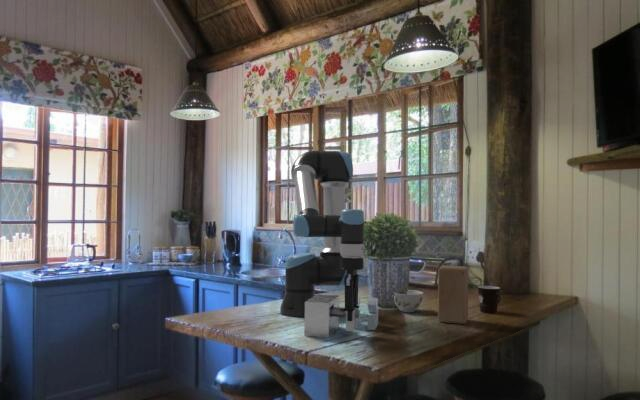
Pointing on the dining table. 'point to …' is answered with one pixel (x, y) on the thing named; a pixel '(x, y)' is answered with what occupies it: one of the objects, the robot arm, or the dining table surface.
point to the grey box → (320, 315)
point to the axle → (342, 312)
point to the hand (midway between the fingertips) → (351, 329)
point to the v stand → (370, 313)
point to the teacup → (408, 300)
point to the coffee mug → (488, 298)
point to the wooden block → (453, 294)
